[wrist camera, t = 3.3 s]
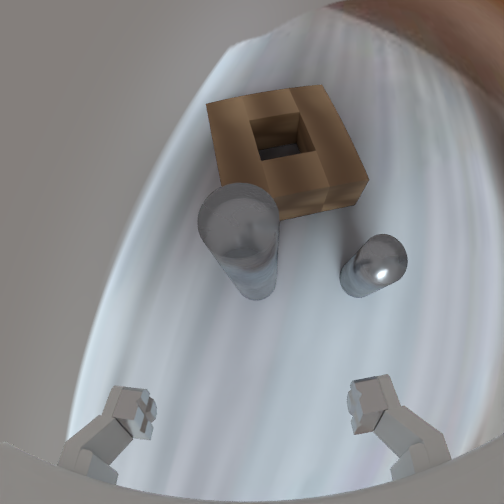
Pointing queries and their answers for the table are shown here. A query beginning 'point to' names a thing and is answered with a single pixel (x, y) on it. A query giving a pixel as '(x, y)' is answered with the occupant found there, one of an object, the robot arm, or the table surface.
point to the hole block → (283, 133)
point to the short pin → (374, 266)
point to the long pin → (243, 236)
